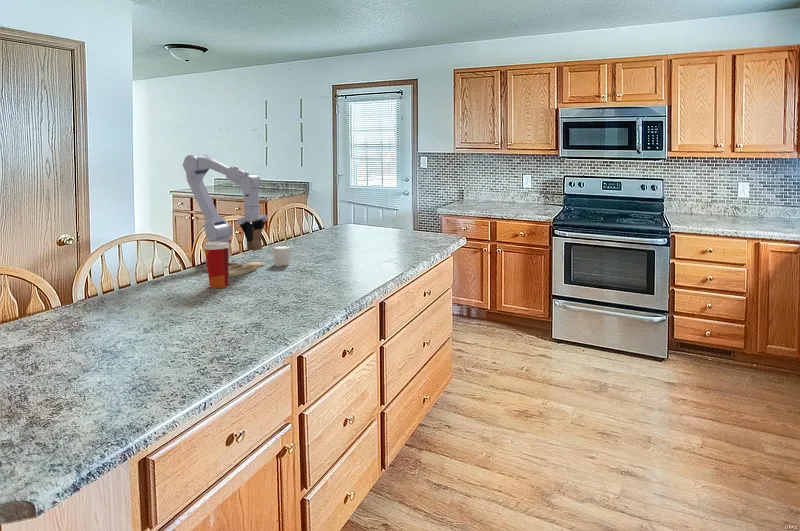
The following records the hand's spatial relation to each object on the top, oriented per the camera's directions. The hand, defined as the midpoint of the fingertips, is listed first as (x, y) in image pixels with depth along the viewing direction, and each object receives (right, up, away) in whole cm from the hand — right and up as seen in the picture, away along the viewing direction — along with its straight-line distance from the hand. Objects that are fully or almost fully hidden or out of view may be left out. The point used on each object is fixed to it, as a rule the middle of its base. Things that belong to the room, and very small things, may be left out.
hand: (253, 240), depth 225 cm
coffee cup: (-4, -17, -31) cm, 36 cm away
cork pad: (0, -10, +2) cm, 10 cm away
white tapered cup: (+10, -10, +4) cm, 15 cm away
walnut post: (0, -4, +1) cm, 4 cm away
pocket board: (-7, -12, -7) cm, 16 cm away
